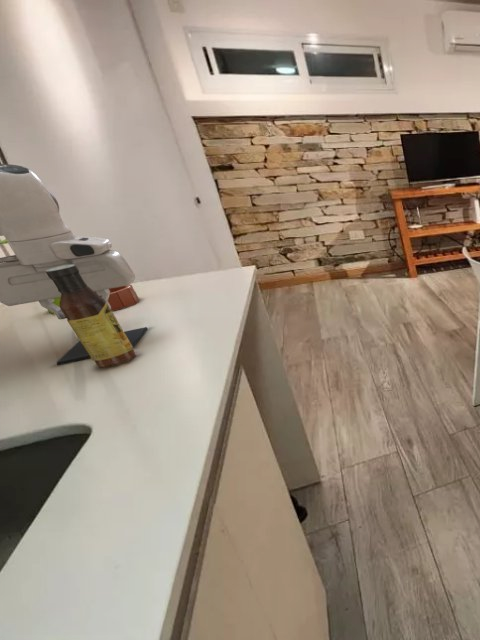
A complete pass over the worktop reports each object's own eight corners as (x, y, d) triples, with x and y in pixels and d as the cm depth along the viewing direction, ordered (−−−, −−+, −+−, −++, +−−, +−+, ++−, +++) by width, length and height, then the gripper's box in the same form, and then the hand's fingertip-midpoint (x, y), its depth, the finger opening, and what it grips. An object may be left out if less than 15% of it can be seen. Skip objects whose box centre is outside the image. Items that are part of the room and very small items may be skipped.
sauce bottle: (142, 357, 97) (89, 264, 88) (103, 371, 92) (43, 274, 83) (130, 351, 100) (78, 260, 91) (91, 365, 95) (32, 270, 86)
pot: (85, 316, 122) (75, 300, 120) (99, 304, 130) (90, 289, 128) (132, 307, 126) (124, 291, 124) (143, 296, 134) (135, 281, 132)
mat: (57, 365, 96) (55, 362, 96) (80, 343, 106) (78, 340, 106) (132, 348, 101) (131, 346, 101) (147, 329, 111) (146, 326, 110)
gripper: (-35, 264, 87) (11, 332, 93) (108, 244, 96) (142, 307, 102) (-17, 257, 92) (26, 321, 98) (118, 237, 101) (150, 298, 107)
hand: (86, 314), depth 100 cm, fingers closed on pill bottle, 5 cm apart
